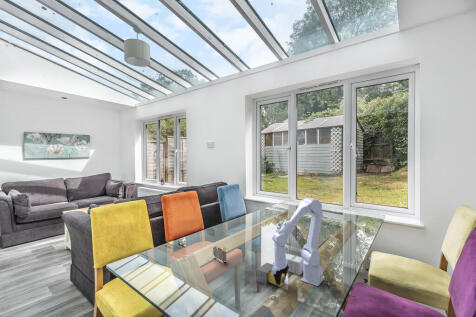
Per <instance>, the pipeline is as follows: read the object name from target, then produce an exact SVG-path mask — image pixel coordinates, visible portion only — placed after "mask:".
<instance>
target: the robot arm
mask: <svg viewBox="0 0 476 317" xmlns="http://www.w3.org/2000/svg"><path fill="white" fill-rule="evenodd" d="M322 208H323V204H322V203H321V201H320V200H318V199H316V198H311V197H308V196H305V197H303V198H302V200H301V201H300V202H299V205H298V207H297V208H296V210H295V211H294V213H293V214H292V216H291V218H289V220H285V221H283V223H282V226H281V227H280V229H278V230H277V231H276V232H275V233H274V234H273V236H272V240H273V242H274V243H273V244H274V261H273V263H272V264H273V265H274V266H273V268H272V269H271V270H272V274H273V275H274V278H275V281H276V284H278V285H280V284H281V276H282V274H285V280H286V278H287V273H288V269H289V266H287V264H289V261H288V260H287V259H286V252H287V250H286V248H287V247H286V245H287V244H288V242H289V240H288V239H289V237H290V236H291V234H292V233H293V232H294V230H295V229H296V224H297V223H298V222H299V221H300V219H301V218H302V217H303V216H304V215H305V214H309V215H311V217H310V218H311V220H310V224H309V230H308V234H307V240H306V243H305V244H304V245H303V248H302V249H301V251H300V257H302V258H303V272H302V273H303V276H302V278H300V281H302V282H305V283H307V284H309V285H313V286H316V287H319V286H320V284H321V283H322V282H323V280H324V279H323V278H324V277H323V276H324V275H323V267H322V266H321V265H320V260H321V258H320V250H319V248H318V244H319V237H320V233H321V227H322V223H323V217H324V213H323V209H322ZM278 285H277V286H278Z"/></svg>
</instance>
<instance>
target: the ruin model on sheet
mask: <svg viewBox="0 0 476 317" xmlns="http://www.w3.org/2000/svg"><path fill="white" fill-rule="evenodd" d="M226 250H227V247H226V246H225V247H223V248H221V247H219V246H218V247H217V245H216V246H213V247H212V254H213V255H214V256H215V257H217V258H219V259H220V260H222V261H223V262H224V261H226V262H227V251H226Z"/></svg>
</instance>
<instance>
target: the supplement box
mask: <svg viewBox="0 0 476 317" xmlns="http://www.w3.org/2000/svg"><path fill="white" fill-rule="evenodd" d="M286 259H287V260H288V261H289V264H287V266H289V269H288V271H287V273H292V274H295V275H298V276H301V274H302V273H303V258H302V257H301V256H298V255H294V254H290V253H286Z"/></svg>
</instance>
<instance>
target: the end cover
mask: <svg viewBox="0 0 476 317" xmlns="http://www.w3.org/2000/svg"><path fill="white" fill-rule="evenodd" d="M268 275H269V282H270V283H269V284H273V285H276V286H278V287H282V286H283V285H284V284H285V283H286V279H285V274H282V276H281V284H280V285H278V284H276V281H275V278H274V275H273V274H272V271H271V272H269V273H268Z"/></svg>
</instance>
